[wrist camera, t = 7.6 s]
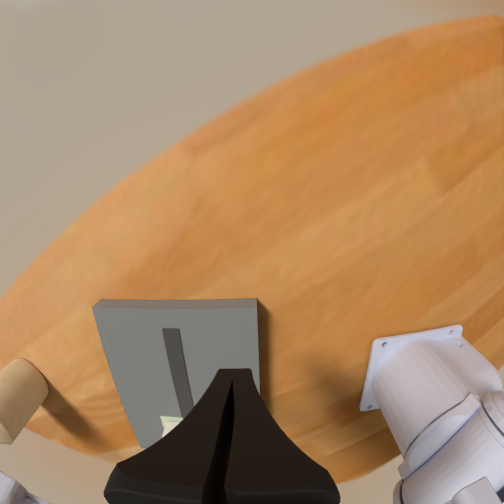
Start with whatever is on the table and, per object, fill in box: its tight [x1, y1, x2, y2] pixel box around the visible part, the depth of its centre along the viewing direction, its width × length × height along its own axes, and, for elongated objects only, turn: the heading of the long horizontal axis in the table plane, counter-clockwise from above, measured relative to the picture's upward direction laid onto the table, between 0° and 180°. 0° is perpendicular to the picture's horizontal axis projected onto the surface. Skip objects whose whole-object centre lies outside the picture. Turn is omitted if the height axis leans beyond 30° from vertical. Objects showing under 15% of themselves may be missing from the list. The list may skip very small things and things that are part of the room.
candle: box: [0, 358, 49, 445], centre depth 19 cm, size 6×6×10 cm
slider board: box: [92, 298, 260, 448], centre depth 22 cm, size 12×16×2 cm
